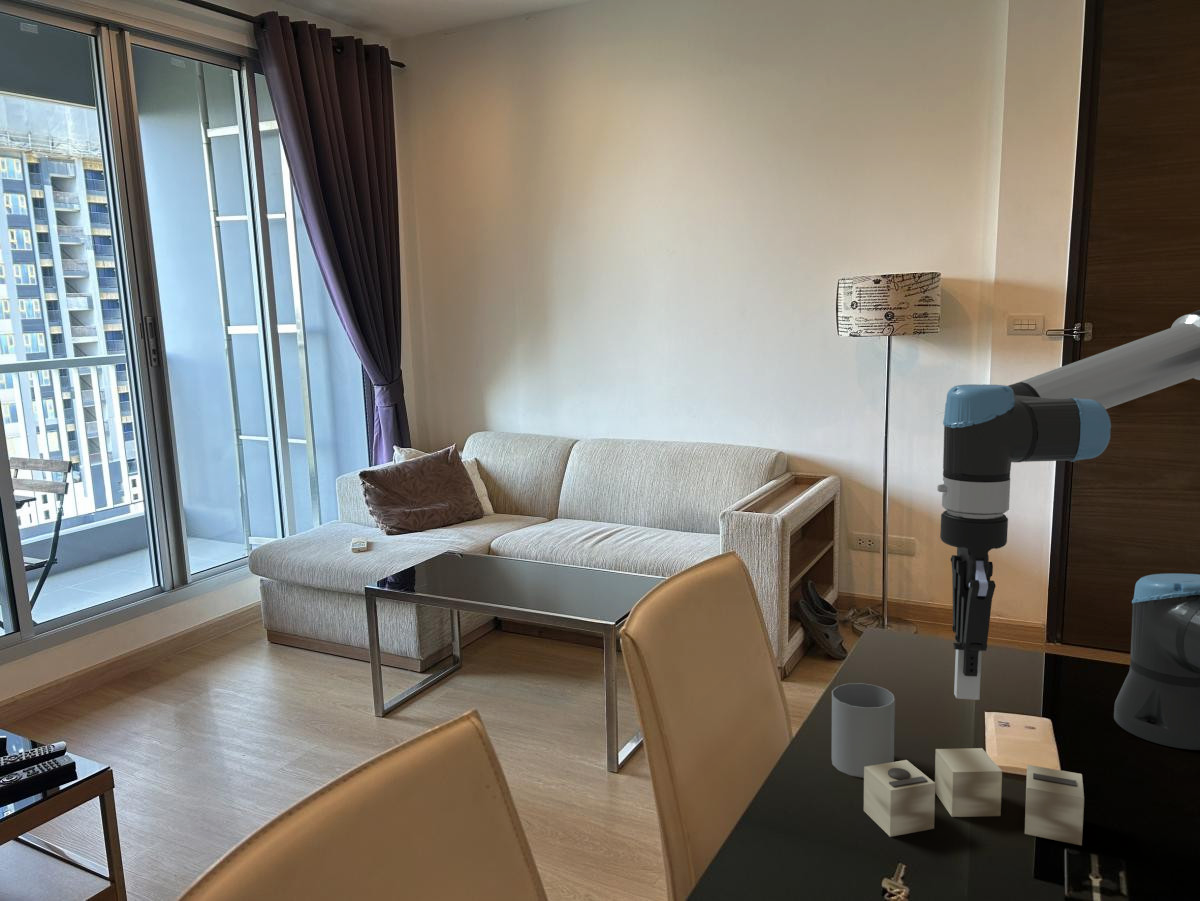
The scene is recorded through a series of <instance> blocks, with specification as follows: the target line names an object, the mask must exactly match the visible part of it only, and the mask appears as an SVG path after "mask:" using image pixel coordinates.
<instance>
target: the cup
mask: <svg viewBox="0 0 1200 901" xmlns="http://www.w3.org/2000/svg"><path fill="white" fill-rule="evenodd" d="M895 715H896V699H895V695H894V694H893V693H892V692H891V691H890V690H888V689H887V688H884V687H881V686H878V685H876V684H871V683H870V684H868V683H861V682H857V683H854V682H853V683H845V684H844V683H843V684H841V685H838V686H836V687H834V688H833V690H831V764H832V766H834V767H835V769H837V770H838V771H839V772H842V773H843V774H846V775H848V776H851V777H856V778H857V777H858V778H862V779H864V767H866V766H872V765H878V764H884V763H890V762H895V723H896V722H895V719H896V717H895Z"/></svg>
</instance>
